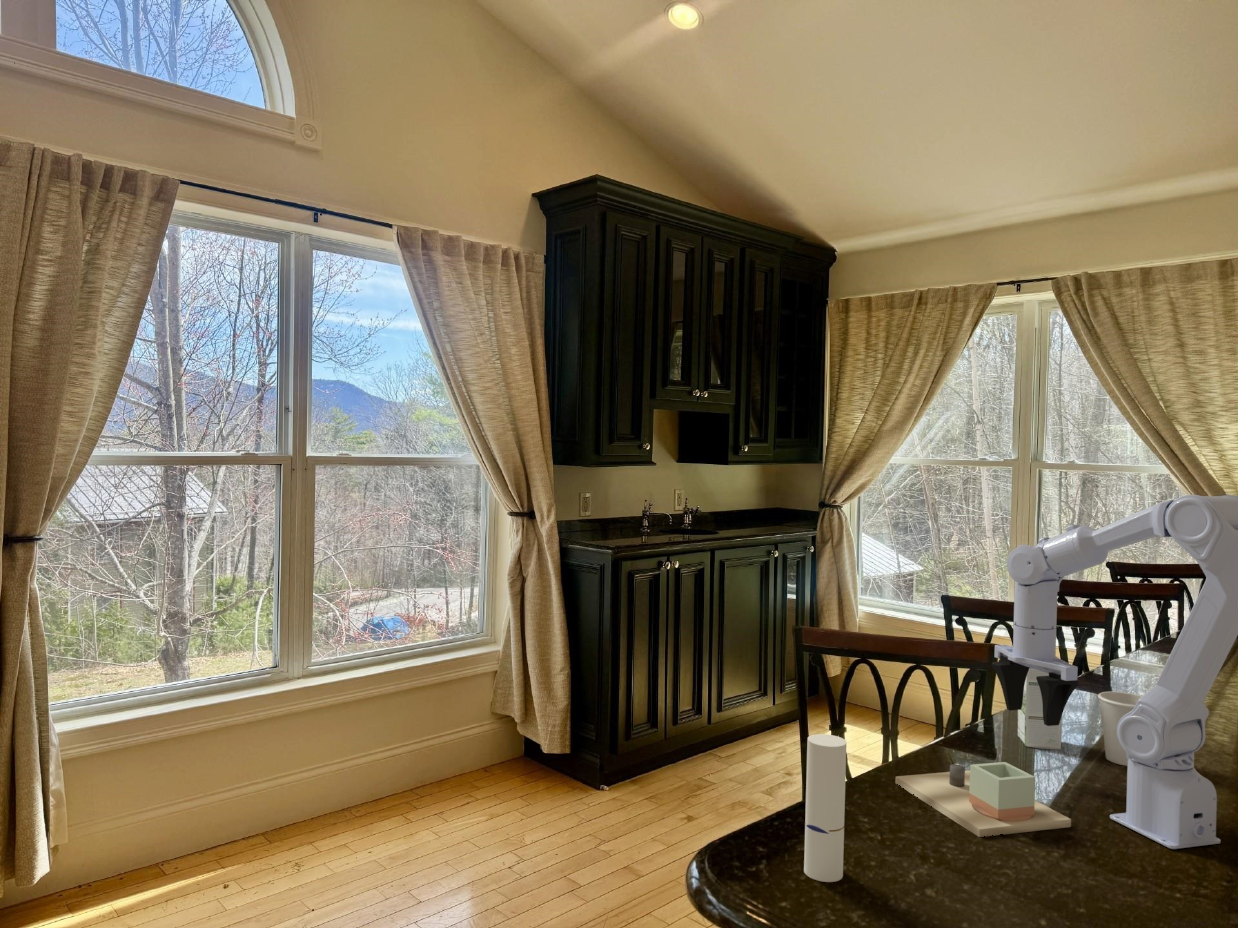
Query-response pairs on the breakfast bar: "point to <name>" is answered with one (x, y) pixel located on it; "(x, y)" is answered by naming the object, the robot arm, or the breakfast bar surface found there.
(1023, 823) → the pin board
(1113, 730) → the dixie cup
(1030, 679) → the syrup box
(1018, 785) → the sleeve
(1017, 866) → the breakfast bar surface
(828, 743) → the tube
